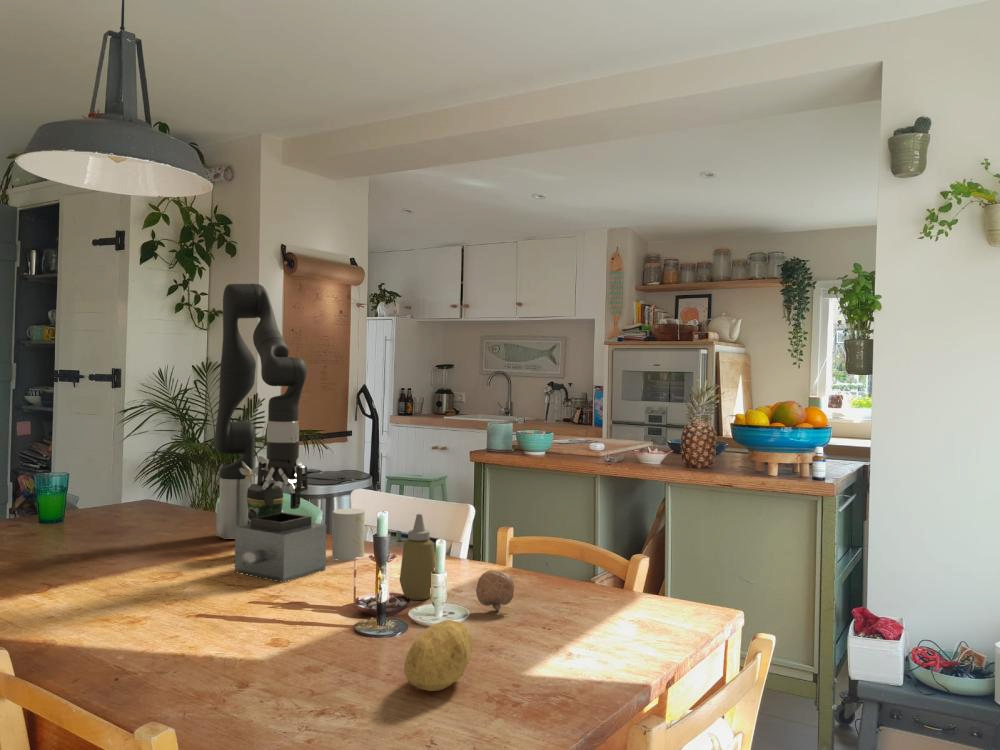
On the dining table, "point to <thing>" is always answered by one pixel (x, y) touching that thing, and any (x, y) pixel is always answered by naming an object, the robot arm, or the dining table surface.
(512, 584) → the mushroom
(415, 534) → the squeeze bottle
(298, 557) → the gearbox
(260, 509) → the coffee jar
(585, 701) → the dining table surface
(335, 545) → the grey cylinder
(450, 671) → the potato
